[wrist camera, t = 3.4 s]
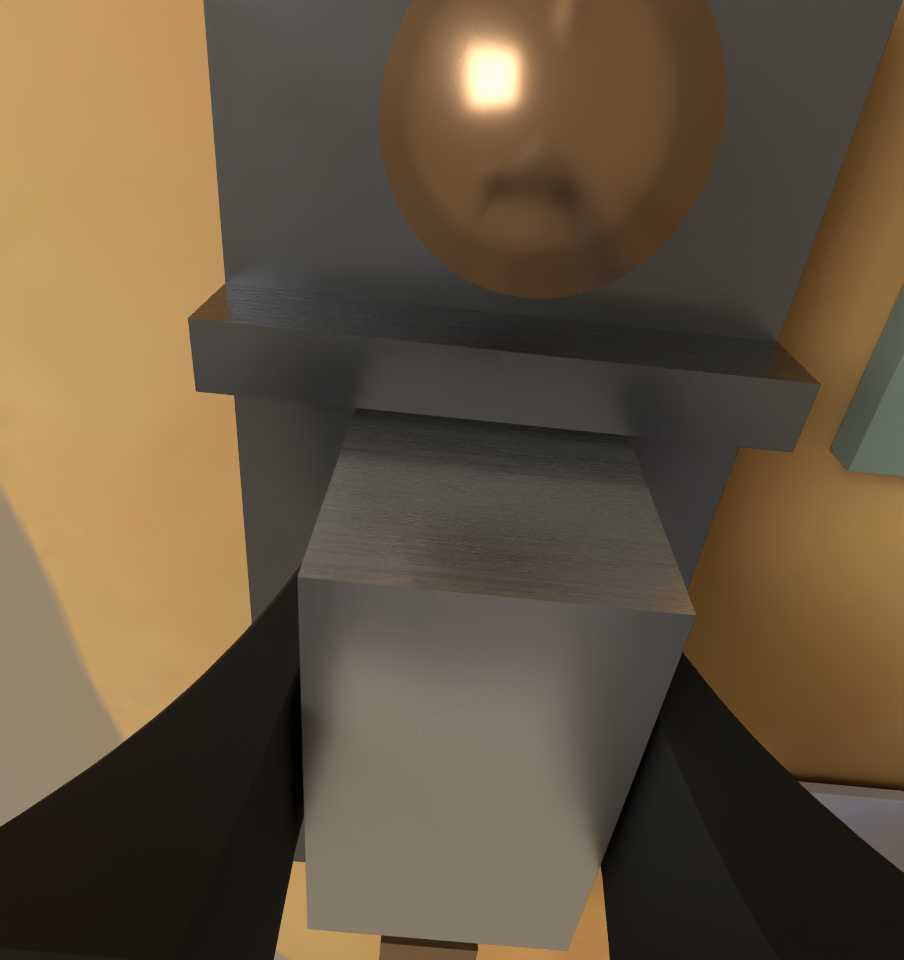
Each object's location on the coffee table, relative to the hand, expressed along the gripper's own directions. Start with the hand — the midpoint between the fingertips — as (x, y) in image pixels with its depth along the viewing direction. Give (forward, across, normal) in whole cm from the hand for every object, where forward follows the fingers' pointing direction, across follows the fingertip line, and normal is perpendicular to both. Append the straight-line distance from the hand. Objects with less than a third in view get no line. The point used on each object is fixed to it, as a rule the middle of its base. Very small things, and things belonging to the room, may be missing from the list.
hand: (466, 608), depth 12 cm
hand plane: (+3, 0, 0) cm, 3 cm away
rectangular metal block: (+1, 0, 0) cm, 1 cm away
